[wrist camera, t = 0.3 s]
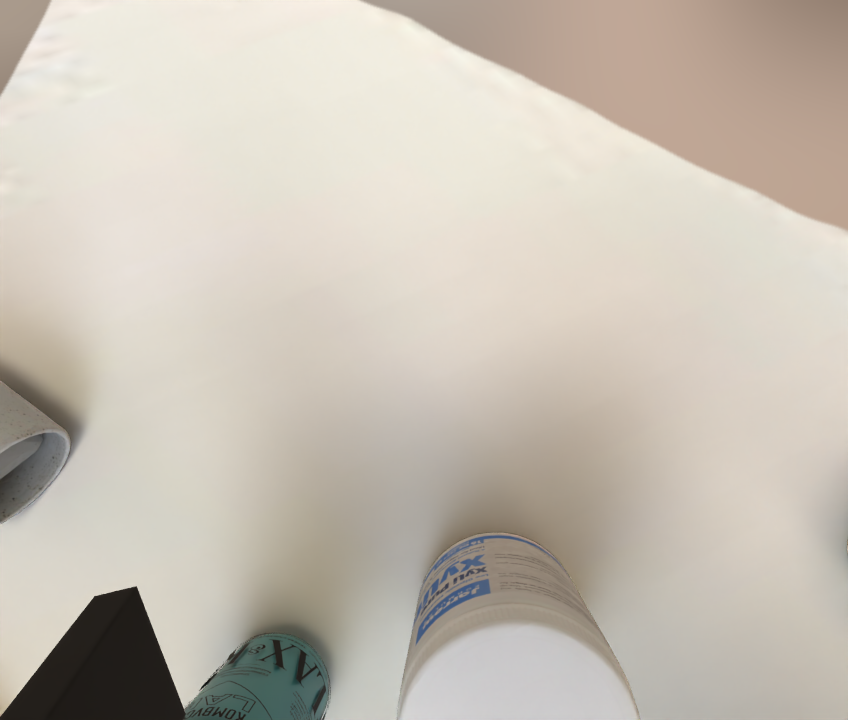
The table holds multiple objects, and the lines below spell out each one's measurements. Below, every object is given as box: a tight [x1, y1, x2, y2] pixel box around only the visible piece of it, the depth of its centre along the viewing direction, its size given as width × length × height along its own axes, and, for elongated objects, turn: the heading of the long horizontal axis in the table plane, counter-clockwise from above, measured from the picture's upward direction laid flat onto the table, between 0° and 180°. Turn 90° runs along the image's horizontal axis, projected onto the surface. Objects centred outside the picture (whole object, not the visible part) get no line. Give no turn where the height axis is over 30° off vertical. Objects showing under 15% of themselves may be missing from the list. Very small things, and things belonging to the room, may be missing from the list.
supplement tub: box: [397, 532, 640, 720], centre depth 31 cm, size 10×10×15 cm
